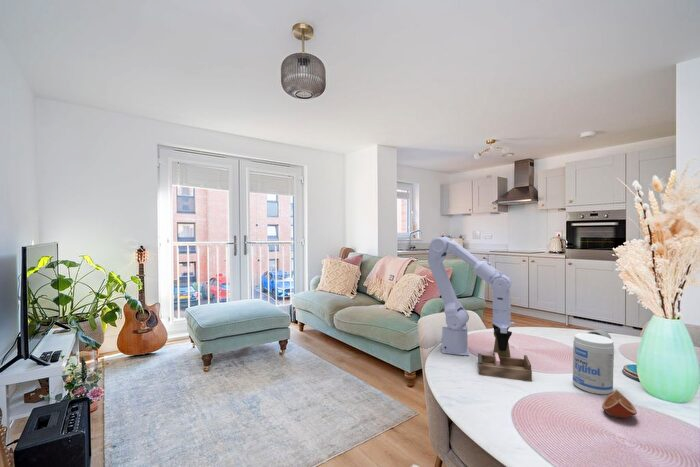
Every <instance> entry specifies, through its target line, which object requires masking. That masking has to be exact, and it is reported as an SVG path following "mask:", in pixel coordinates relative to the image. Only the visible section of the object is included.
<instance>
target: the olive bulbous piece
mask: <svg viewBox="0 0 700 467" xmlns="http://www.w3.org/2000/svg"><path fill="white" fill-rule="evenodd" d="M498 330H500V328H498ZM507 331H509V329H508V330H507ZM493 337H494V338H495V339H494V346H493V352H492V356H495V353H498V356H500V357H510V358H512V356H511V352H510V351H511V349H510V343H509V342H508V344H507V349H506V351H500V350H499V347H498V341H497V337H496V334H495V333H494V332H493Z"/></svg>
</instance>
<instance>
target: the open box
mask: <svg viewBox="0 0 700 467" xmlns="http://www.w3.org/2000/svg"><path fill="white" fill-rule="evenodd" d="M510 357H511V356H510ZM510 357H500V356H499V360H500V367H498V366H495V356H493V355H490V354H482V353H480V352H478V353H477V365H478V366H477V368H478V375H481V376H488V377H489V376H490V377H495V378H496V377H497V378H504V379H512V380H517V381H518V380H520V381H526V380H527V381H528V382H532V381H533V370H532V364H531V362H530V360H529V358H528V355H527V354H524V355H523V358H517V357H511V358H510Z"/></svg>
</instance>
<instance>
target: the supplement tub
mask: <svg viewBox="0 0 700 467" xmlns="http://www.w3.org/2000/svg"><path fill="white" fill-rule="evenodd" d="M572 346H573V347H572V348H573V352H572V354H573V355H572V383H573V384H574V386H576V387H577V388H578V389H581V391H584V392H588V393H591V394H596V395H609V394H611V393H612V392H614V391H613V390H614V367H615V366H614V360H615V358H614V356H615V345H614V340H613V339H612V338H611V339H610V338H607V337H604V336H601V335H596V334H589V333H588V332H579V333H575V334H574V338H573V345H572Z"/></svg>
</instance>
